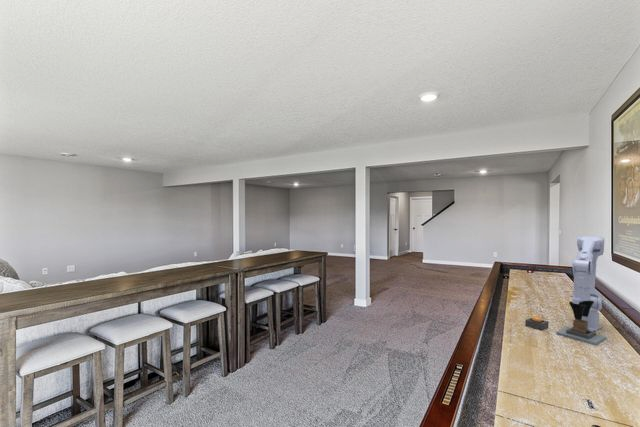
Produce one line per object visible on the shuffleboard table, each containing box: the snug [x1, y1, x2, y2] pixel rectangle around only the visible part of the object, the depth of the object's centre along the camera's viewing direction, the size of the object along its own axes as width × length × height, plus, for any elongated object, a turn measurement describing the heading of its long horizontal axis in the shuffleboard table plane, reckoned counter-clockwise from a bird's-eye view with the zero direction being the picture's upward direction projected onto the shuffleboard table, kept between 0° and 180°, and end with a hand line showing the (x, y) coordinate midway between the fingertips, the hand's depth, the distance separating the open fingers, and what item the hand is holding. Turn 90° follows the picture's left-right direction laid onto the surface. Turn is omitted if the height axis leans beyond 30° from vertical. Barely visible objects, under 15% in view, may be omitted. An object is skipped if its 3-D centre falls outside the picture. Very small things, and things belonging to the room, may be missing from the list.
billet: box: [572, 318, 589, 334], centre depth 141 cm, size 4×4×6 cm
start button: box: [531, 315, 543, 323], centre depth 152 cm, size 4×4×2 cm
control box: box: [524, 317, 549, 331], centre depth 152 cm, size 7×7×3 cm
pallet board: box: [555, 326, 607, 346], centre depth 140 cm, size 13×14×2 cm
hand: (581, 317), depth 141 cm, fingers open, 7 cm apart
